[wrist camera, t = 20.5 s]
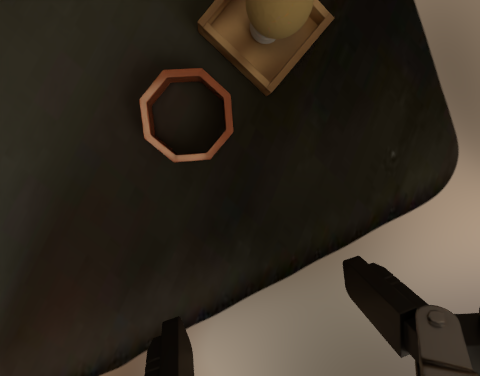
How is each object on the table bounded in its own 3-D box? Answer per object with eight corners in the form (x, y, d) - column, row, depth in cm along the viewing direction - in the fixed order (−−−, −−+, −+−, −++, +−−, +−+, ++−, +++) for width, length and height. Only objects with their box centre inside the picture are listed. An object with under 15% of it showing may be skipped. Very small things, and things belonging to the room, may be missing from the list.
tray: (197, 31, 33) (197, 21, 31) (258, -44, 33) (263, -60, 30) (266, 96, 36) (271, 92, 33) (324, 27, 35) (334, 17, 32)
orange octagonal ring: (129, 122, 34) (121, 120, 31) (182, 56, 34) (180, 48, 31) (194, 175, 36) (193, 178, 33) (246, 114, 36) (250, 112, 33)
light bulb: (227, 17, 33) (236, -34, 23) (273, -11, 33) (302, -75, 23) (255, 67, 34) (274, 38, 24) (299, 40, 34) (336, 0, 24)
